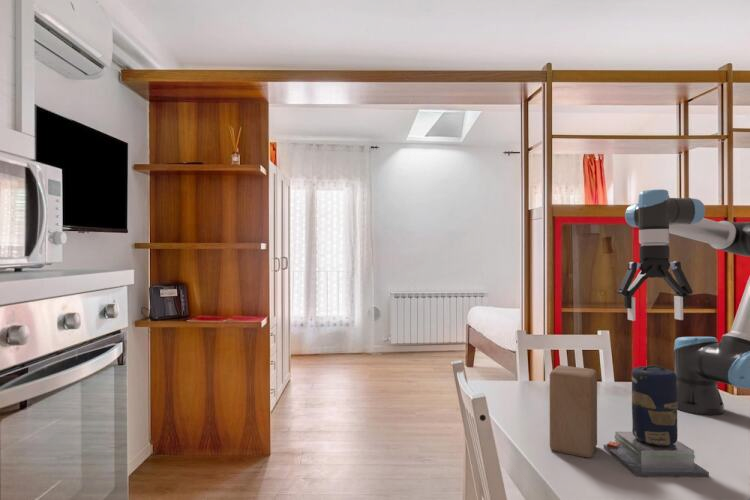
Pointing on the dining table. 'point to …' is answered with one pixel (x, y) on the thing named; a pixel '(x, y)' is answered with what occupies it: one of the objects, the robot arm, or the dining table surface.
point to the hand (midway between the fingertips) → (655, 319)
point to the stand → (654, 457)
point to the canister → (654, 405)
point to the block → (573, 410)
